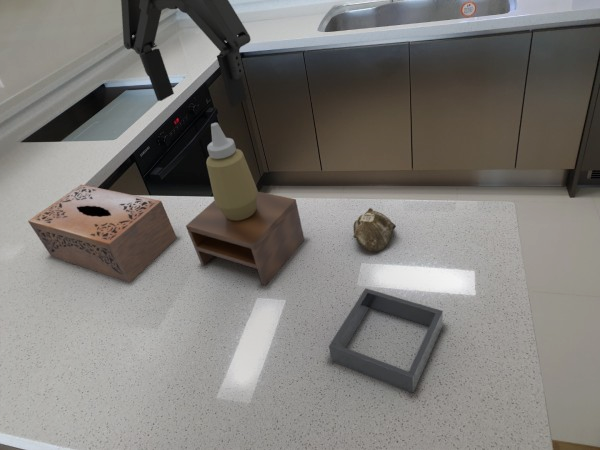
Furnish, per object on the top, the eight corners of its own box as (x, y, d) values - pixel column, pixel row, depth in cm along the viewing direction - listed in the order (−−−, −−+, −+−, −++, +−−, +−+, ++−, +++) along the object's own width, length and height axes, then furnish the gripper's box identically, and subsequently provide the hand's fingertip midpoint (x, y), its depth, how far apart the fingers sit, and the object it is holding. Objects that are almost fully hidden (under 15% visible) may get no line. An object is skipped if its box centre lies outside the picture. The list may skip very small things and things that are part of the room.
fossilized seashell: (368, 207, 93) (339, 240, 89) (378, 191, 87) (347, 226, 83) (398, 230, 92) (370, 265, 88) (410, 215, 86) (380, 252, 82)
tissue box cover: (177, 238, 101) (161, 200, 95) (130, 282, 91) (109, 244, 85) (99, 218, 113) (81, 184, 107) (50, 256, 103) (27, 221, 97)
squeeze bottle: (245, 229, 82) (217, 138, 71) (211, 220, 86) (180, 133, 75) (270, 203, 87) (248, 115, 76) (237, 196, 91) (211, 111, 80)
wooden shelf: (265, 286, 84) (253, 244, 78) (201, 264, 92) (185, 225, 86) (304, 239, 93) (295, 199, 87) (242, 224, 101) (230, 185, 95)
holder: (413, 393, 62) (412, 378, 60) (331, 361, 69) (328, 346, 67) (442, 326, 70) (442, 310, 68) (367, 302, 77) (365, 288, 74)
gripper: (253, -104, 48) (289, 93, 60) (101, -73, 60) (157, 85, 72) (207, -95, 43) (256, 117, 55) (52, -63, 55) (121, 105, 68)
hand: (200, 100), depth 64 cm, fingers open, 13 cm apart
